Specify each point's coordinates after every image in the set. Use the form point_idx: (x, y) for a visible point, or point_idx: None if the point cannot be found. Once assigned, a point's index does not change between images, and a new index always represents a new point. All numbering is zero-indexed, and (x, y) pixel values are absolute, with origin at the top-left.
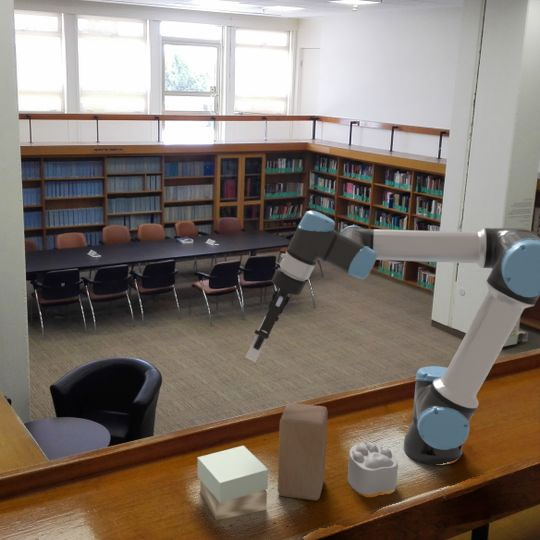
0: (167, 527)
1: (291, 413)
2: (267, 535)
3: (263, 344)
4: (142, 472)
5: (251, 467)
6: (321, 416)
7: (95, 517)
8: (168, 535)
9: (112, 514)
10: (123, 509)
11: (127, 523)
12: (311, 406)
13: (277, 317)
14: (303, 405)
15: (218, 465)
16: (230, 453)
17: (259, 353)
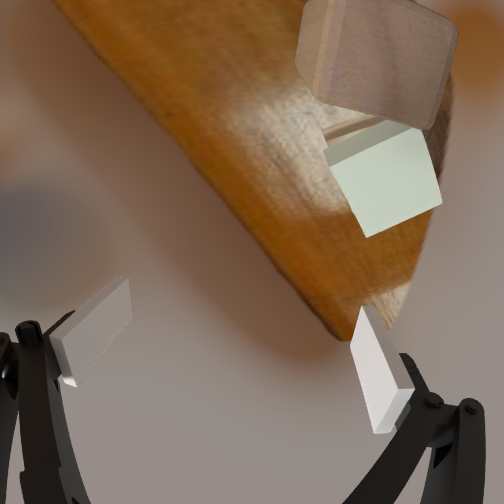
0: (416, 225)
1: (401, 97)
2: (451, 111)
3: (402, 365)
4: (297, 265)
5: (409, 153)
6: (417, 10)
7: (383, 287)
8: (429, 222)
9: (381, 275)
10: (374, 269)
11: (400, 261)
12: (350, 26)
13: (19, 336)
14: (344, 51)
15: (396, 206)
16: (359, 189)
17: (387, 332)
